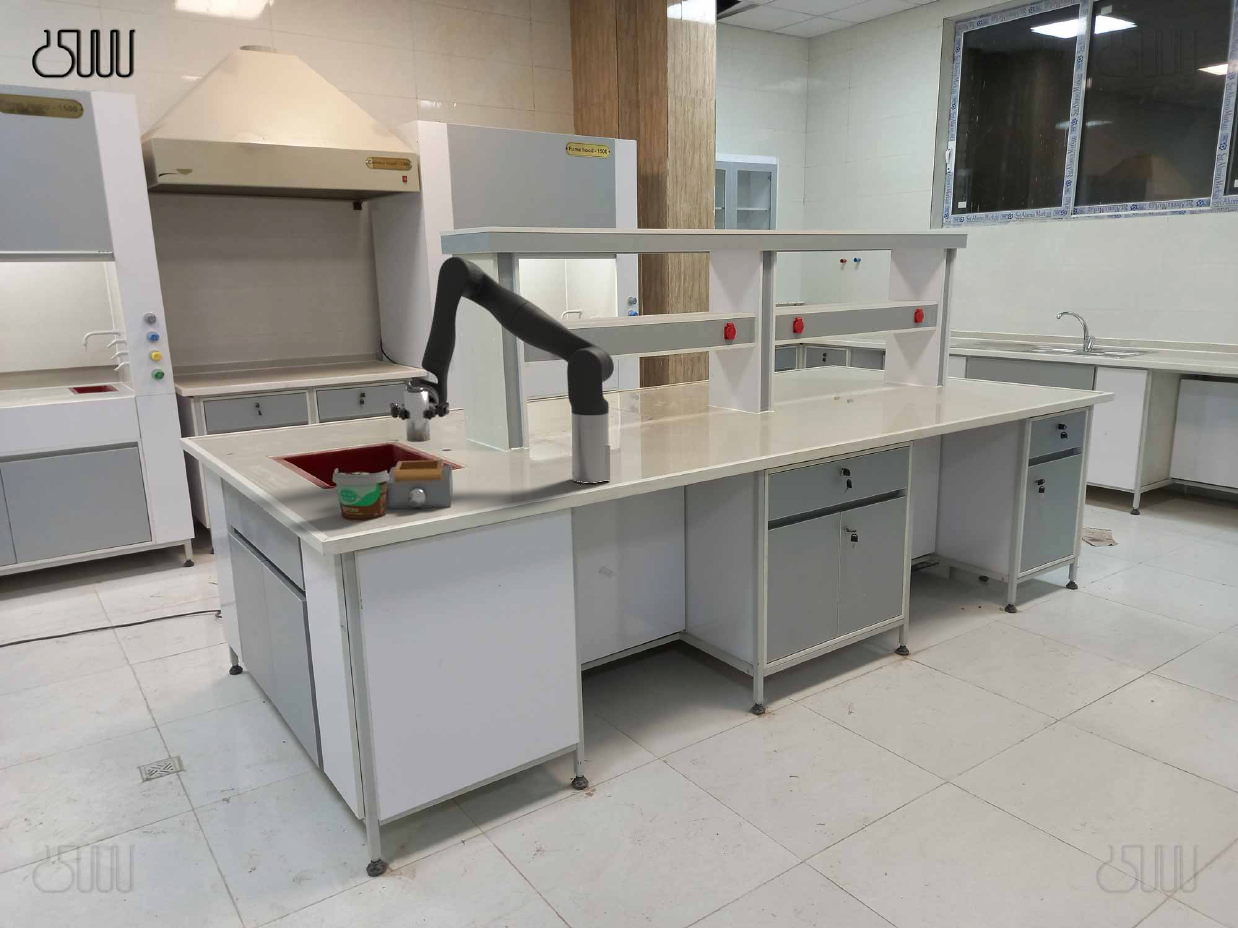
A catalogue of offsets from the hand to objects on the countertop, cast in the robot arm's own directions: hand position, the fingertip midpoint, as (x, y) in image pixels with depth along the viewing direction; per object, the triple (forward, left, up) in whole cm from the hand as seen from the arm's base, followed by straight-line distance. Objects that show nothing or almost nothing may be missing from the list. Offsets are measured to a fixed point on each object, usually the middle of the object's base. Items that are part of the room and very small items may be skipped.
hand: (416, 415), depth 191 cm
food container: (+12, +12, -20) cm, 26 cm away
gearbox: (0, -1, -20) cm, 20 cm away
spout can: (0, -3, -6) cm, 7 cm away
